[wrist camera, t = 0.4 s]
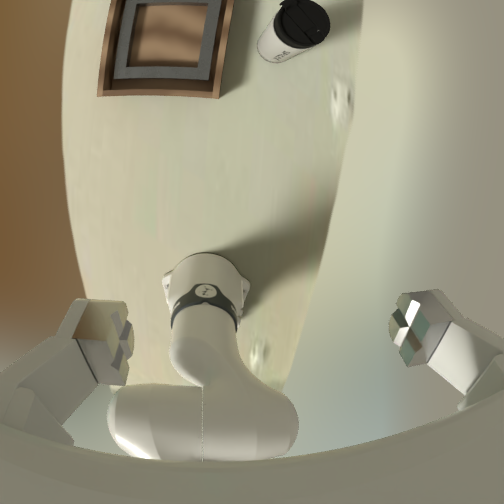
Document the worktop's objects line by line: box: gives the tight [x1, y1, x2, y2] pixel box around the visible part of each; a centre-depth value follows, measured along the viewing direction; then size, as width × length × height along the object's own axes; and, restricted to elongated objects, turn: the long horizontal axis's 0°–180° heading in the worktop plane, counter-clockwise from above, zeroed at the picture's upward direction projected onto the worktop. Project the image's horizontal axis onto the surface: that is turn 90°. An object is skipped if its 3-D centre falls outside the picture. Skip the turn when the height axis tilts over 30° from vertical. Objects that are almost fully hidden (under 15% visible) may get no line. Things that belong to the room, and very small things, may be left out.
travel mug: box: [257, 0, 330, 63], centre depth 33 cm, size 6×7×20 cm
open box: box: [97, 0, 234, 99], centre depth 37 cm, size 22×20×5 cm
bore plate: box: [114, 0, 222, 81], centre depth 37 cm, size 16×16×2 cm
